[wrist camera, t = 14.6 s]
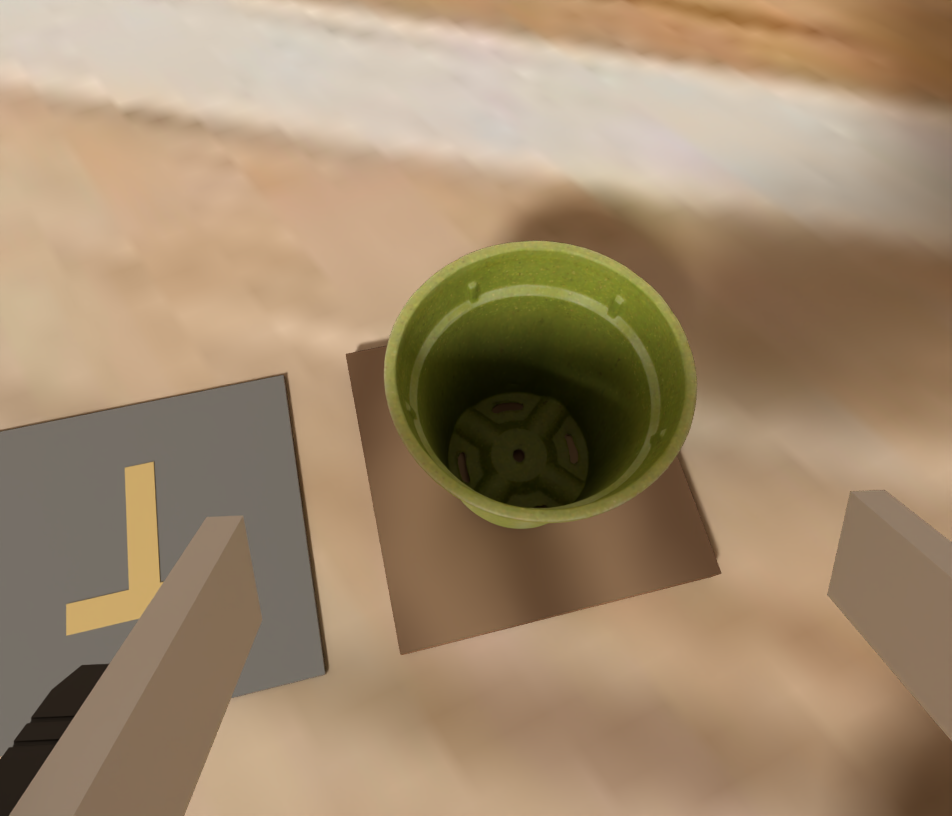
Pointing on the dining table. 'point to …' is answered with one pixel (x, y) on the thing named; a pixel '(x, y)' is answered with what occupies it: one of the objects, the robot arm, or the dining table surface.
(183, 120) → the dining table surface
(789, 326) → the dining table surface
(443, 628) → the walnut board
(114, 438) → the slate mat
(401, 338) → the plant pot
